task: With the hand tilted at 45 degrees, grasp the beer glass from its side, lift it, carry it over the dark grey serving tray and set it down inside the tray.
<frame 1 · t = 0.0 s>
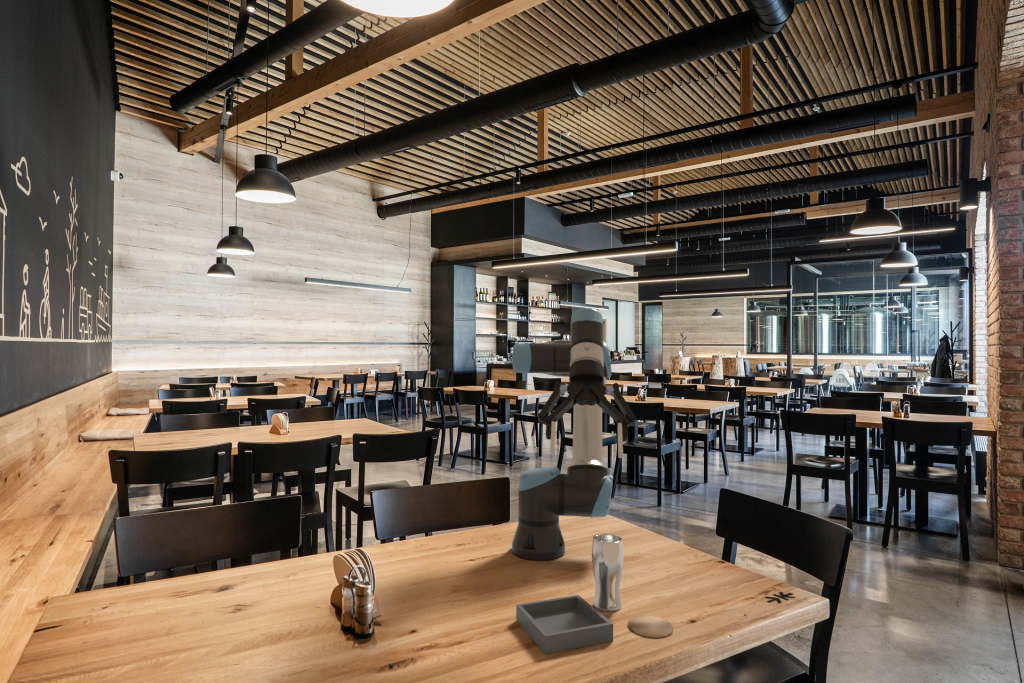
hand: (586, 454, 115), 36 cm above the table, tool tilted 35°, fingers open, 13 cm apart
beer glass: (607, 606, 128), on the table
tray: (562, 630, 116), on the table
coaster: (650, 627, 118), on the table
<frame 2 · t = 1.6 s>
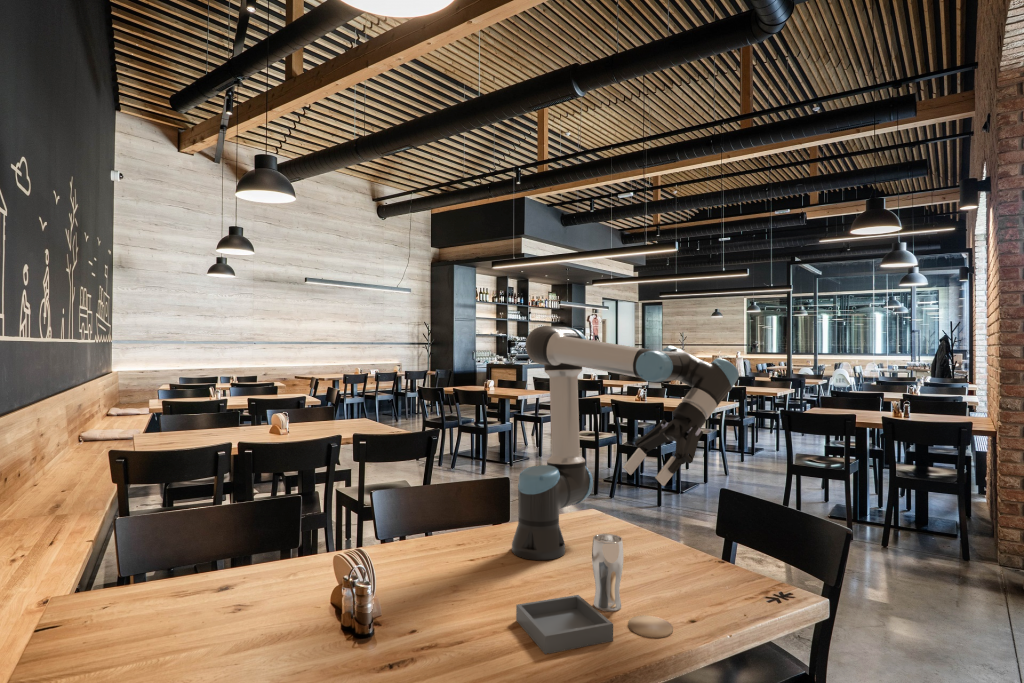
hand: (642, 476, 136), 27 cm above the table, tool tilted 45°, fingers open, 13 cm apart
nothing on the table moved.
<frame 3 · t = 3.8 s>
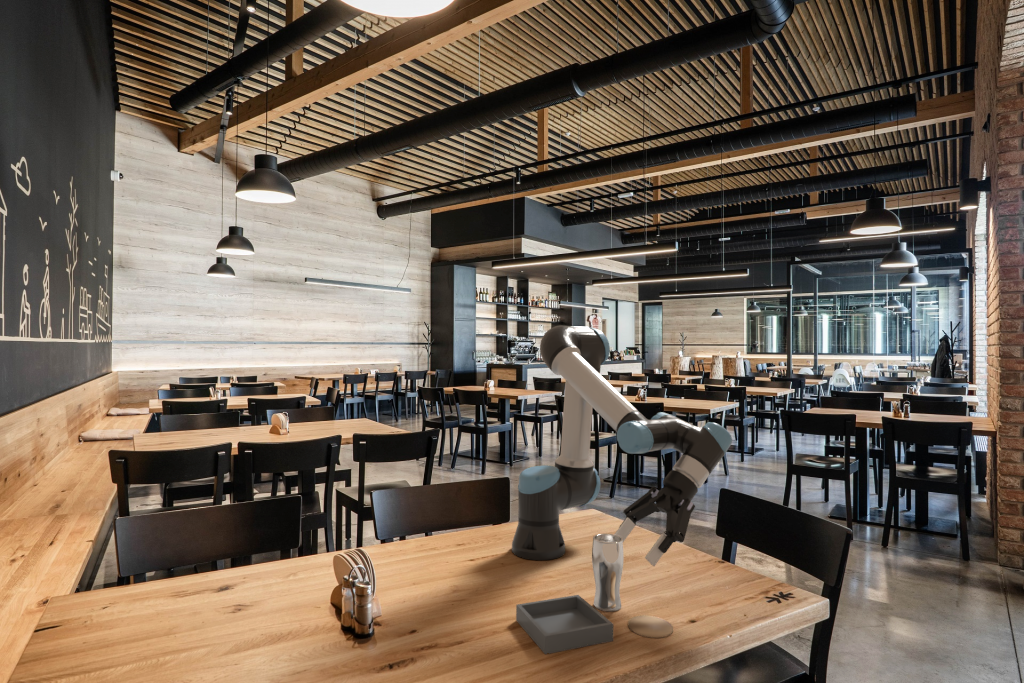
hand: (631, 552, 129), 12 cm above the table, tool tilted 45°, fingers open, 13 cm apart
nothing on the table moved.
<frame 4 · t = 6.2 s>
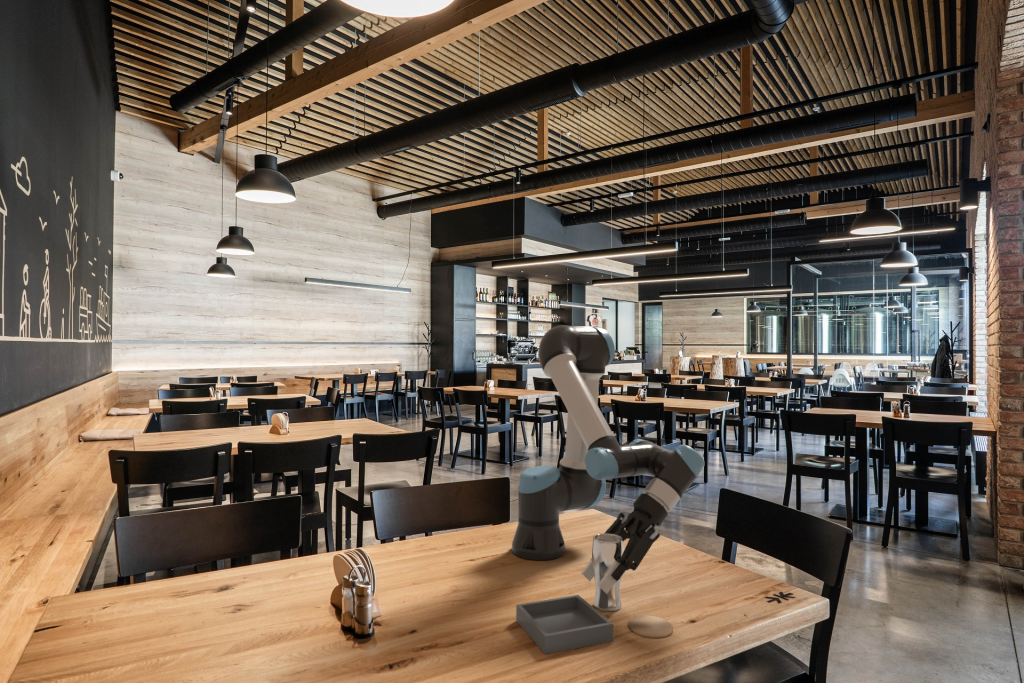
hand: (593, 583, 127), 5 cm above the table, tool tilted 45°, fingers closed on beer glass, 7 cm apart
beer glass: (607, 606, 128), on the table, touching gripper
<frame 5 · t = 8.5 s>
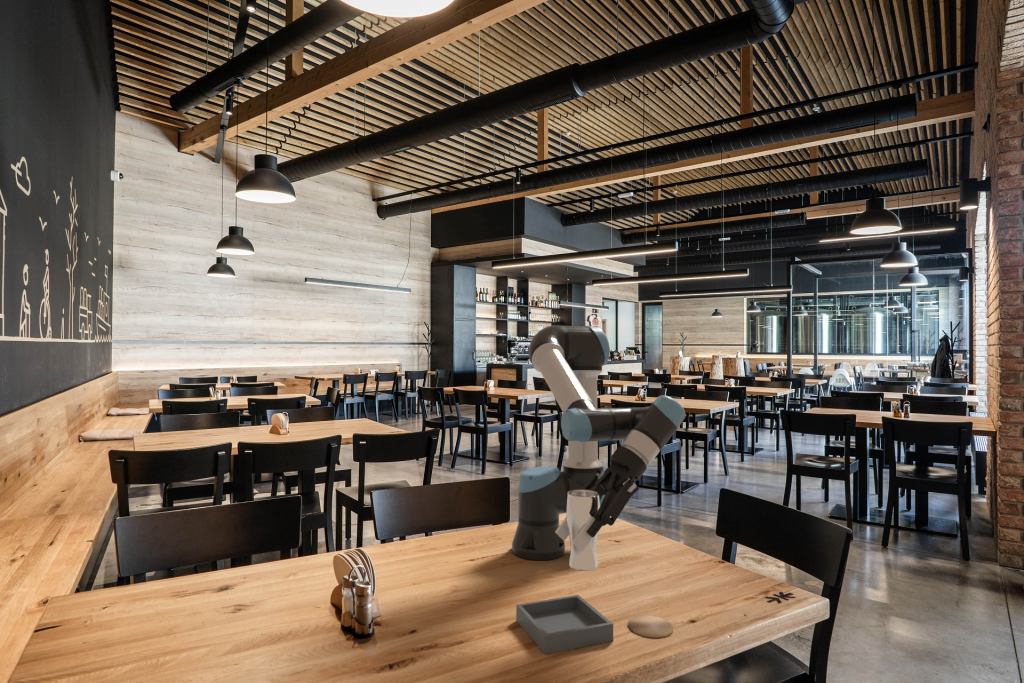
hand: (568, 541, 118), 18 cm above the table, tool tilted 45°, fingers closed on beer glass, 7 cm apart
beer glass: (583, 566, 119), point 12 cm above the table, touching gripper
when the fingers open (7 cm above the table, at t = 11.1 s): beer glass drops 1 cm, resting on tray.
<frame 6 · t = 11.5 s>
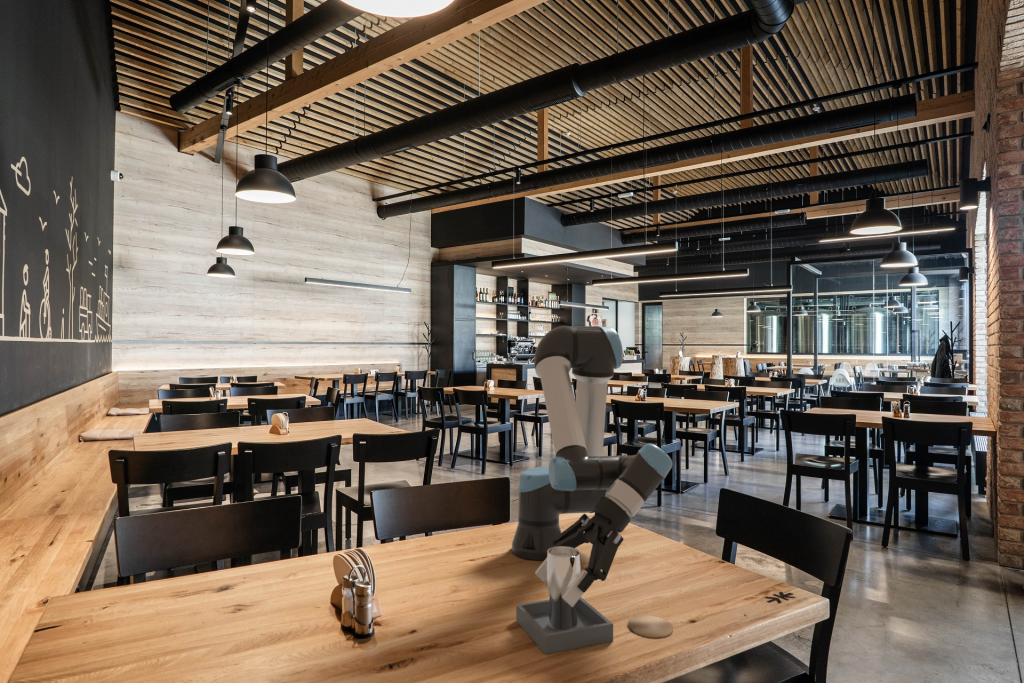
hand: (552, 589, 116), 9 cm above the table, tool tilted 45°, fingers open, 12 cm apart
beer glass: (563, 627, 116), point 1 cm above the table, touching tray
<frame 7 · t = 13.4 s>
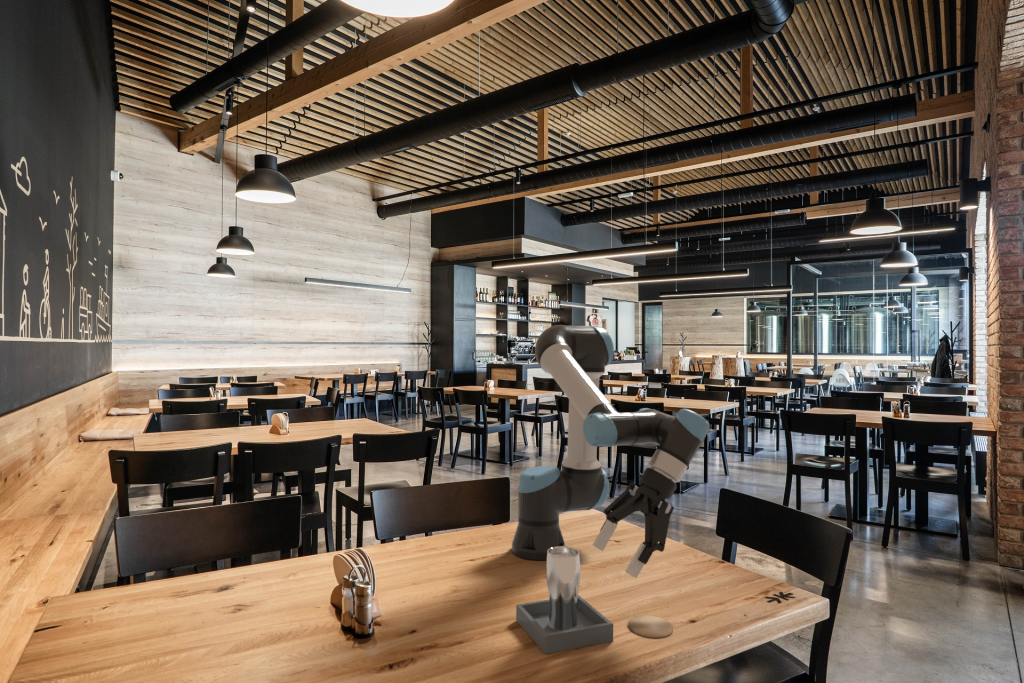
hand: (613, 560, 123), 12 cm above the table, tool tilted 35°, fingers open, 13 cm apart
nothing on the table moved.
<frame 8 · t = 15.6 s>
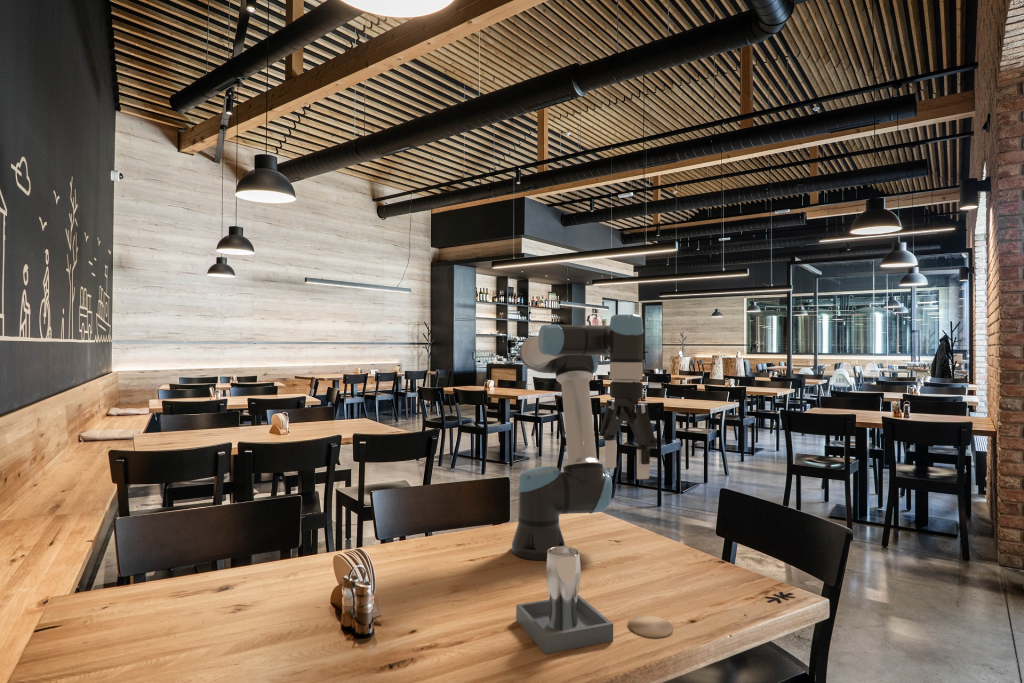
hand: (626, 472, 133), 29 cm above the table, tool pointing down, fingers open, 13 cm apart
nothing on the table moved.
at the end: beer glass inside the target area on the tray (0.1 cm from its centre), point 0.6 cm above the tray's base; beer glass tilted 0°; the gripper is holding nothing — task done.
